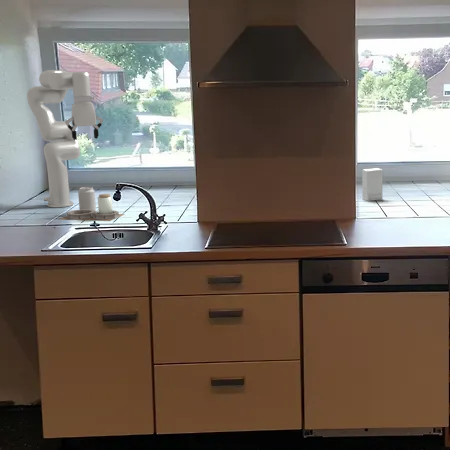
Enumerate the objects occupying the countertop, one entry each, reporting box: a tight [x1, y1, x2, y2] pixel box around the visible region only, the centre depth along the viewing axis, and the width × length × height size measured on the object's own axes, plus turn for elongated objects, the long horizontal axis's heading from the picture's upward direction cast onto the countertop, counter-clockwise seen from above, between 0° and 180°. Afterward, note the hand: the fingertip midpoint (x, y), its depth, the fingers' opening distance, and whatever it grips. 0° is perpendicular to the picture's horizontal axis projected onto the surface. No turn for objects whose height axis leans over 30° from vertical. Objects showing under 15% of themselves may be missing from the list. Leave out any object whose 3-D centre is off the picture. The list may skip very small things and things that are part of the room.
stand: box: [59, 209, 125, 222], centre depth 294 cm, size 25×15×3 cm, turn 73°
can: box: [77, 186, 97, 212], centre depth 308 cm, size 8×8×12 cm
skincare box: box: [361, 167, 384, 202], centre depth 320 cm, size 8×6×15 cm
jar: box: [97, 193, 114, 214], centre depth 291 cm, size 6×6×10 cm
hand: (85, 139), depth 299 cm, fingers open, 9 cm apart
